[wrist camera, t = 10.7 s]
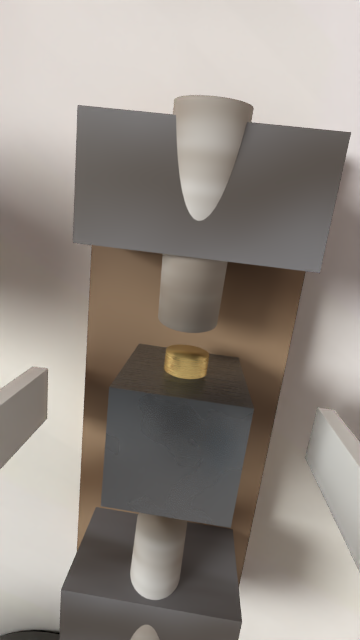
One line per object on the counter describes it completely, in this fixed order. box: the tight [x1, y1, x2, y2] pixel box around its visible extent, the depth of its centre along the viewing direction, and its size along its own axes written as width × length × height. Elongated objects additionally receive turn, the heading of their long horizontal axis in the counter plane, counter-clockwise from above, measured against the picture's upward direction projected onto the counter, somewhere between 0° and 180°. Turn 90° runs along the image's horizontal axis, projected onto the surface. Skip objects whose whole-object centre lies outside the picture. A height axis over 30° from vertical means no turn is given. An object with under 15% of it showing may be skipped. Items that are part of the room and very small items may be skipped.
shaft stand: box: [59, 95, 351, 640], centre depth 15 cm, size 26×10×7 cm, turn 173°
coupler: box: [101, 344, 254, 528], centre depth 14 cm, size 7×5×5 cm
